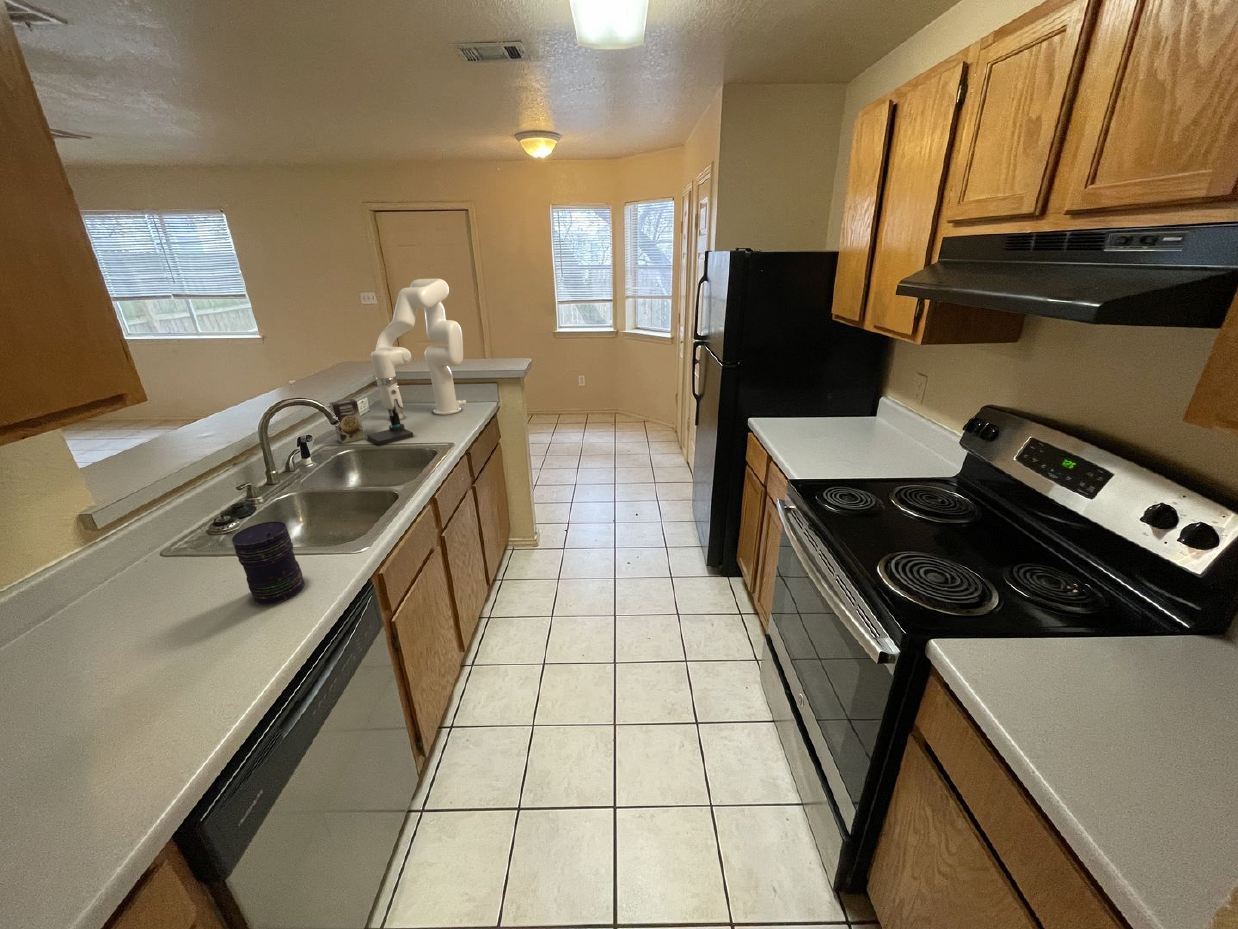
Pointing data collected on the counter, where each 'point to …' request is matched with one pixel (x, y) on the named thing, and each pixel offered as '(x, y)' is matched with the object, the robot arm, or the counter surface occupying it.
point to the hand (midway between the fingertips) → (395, 424)
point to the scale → (390, 435)
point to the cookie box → (348, 420)
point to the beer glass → (400, 409)
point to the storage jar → (269, 562)
